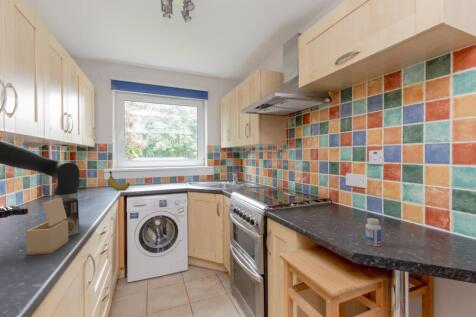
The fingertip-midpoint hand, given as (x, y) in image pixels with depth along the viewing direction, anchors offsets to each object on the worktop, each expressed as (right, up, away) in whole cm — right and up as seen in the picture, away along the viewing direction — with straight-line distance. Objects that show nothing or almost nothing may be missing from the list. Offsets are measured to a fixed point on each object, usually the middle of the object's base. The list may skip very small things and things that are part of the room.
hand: (26, 211), depth 84 cm
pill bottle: (+136, -14, +2) cm, 137 cm away
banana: (-41, -13, +141) cm, 148 cm away
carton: (+7, -15, +2) cm, 17 cm away
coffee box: (+3, -15, +16) cm, 22 cm away
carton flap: (+11, -5, +2) cm, 12 cm away
